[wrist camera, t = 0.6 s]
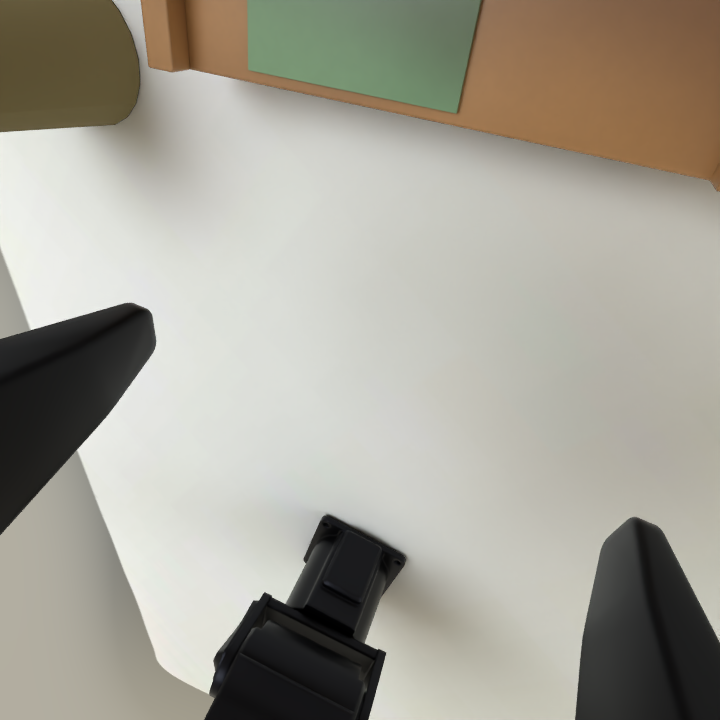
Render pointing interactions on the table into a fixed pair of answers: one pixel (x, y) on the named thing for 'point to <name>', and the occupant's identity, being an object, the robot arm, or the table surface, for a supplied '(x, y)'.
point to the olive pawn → (65, 64)
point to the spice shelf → (480, 65)
